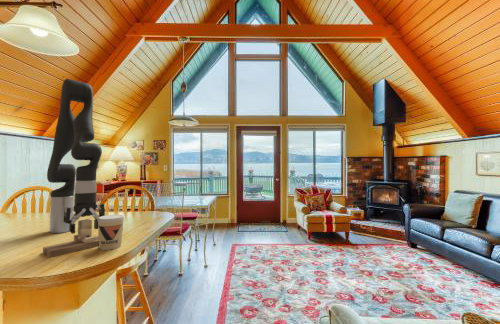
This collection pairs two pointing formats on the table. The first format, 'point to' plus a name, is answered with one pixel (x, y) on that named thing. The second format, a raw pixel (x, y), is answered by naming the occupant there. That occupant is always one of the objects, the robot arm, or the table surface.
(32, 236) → the table surface
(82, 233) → the beige stepped block
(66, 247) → the board
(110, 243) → the coffee cup
